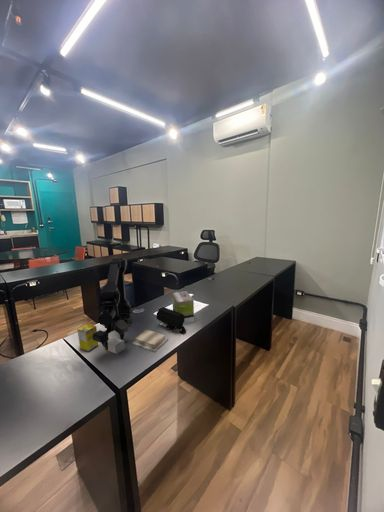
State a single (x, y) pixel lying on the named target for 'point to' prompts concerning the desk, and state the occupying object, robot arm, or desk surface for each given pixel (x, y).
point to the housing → (115, 345)
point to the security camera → (171, 319)
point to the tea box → (184, 305)
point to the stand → (150, 340)
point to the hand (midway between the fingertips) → (114, 344)
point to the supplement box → (87, 337)
